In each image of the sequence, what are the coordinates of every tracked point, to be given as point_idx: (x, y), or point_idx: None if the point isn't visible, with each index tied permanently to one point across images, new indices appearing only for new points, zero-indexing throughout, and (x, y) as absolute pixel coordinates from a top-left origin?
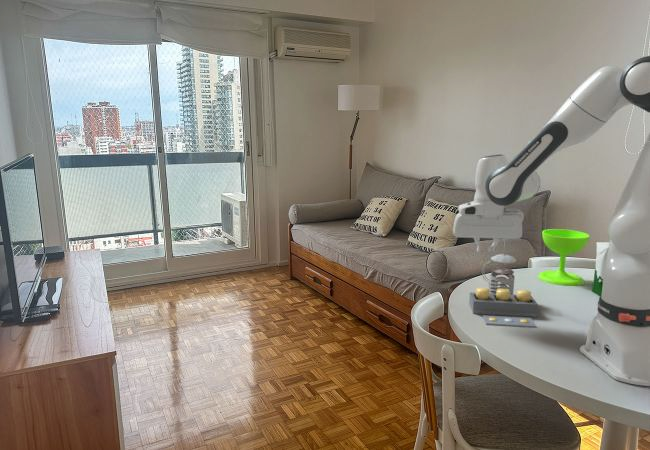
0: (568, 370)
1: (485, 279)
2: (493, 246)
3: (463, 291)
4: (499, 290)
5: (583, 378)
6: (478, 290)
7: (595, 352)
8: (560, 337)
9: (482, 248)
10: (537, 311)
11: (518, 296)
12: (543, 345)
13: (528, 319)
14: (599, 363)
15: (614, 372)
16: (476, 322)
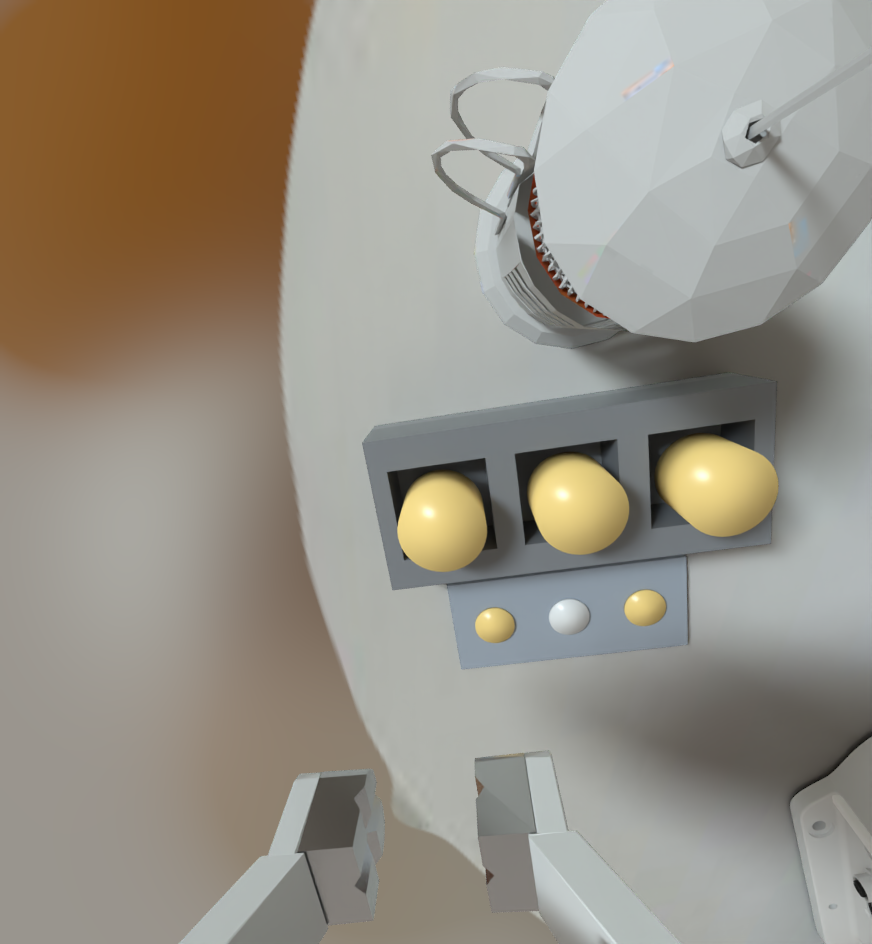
0: (695, 912)
1: (471, 199)
2: (553, 919)
3: (323, 183)
4: (556, 514)
5: (724, 939)
6: (412, 553)
7: (839, 841)
8: (760, 708)
9: (371, 882)
10: None
11: (674, 508)
12: (666, 785)
13: (670, 579)
14: (814, 894)
15: (834, 934)
16: (419, 653)
